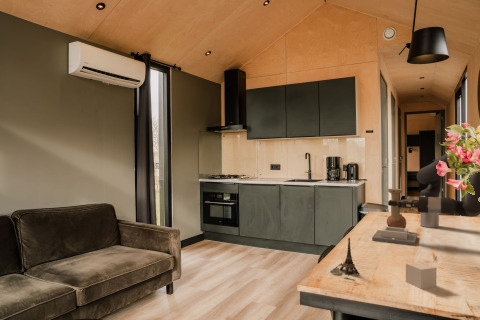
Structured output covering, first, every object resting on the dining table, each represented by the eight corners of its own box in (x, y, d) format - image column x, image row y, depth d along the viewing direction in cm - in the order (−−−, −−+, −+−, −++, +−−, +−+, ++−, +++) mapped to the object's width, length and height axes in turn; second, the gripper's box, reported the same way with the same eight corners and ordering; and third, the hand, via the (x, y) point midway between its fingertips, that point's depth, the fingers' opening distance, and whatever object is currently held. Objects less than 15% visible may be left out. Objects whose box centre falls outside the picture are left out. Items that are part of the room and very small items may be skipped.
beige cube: (405, 282, 107) (405, 263, 107) (420, 280, 109) (420, 261, 109) (420, 289, 101) (420, 269, 101) (436, 287, 103) (436, 267, 103)
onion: (402, 229, 183) (402, 211, 183) (409, 233, 173) (409, 214, 173) (384, 229, 184) (384, 211, 184) (390, 233, 174) (390, 214, 174)
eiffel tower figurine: (341, 264, 126) (341, 229, 126) (368, 270, 120) (369, 232, 120) (325, 276, 114) (325, 236, 114) (355, 282, 108) (355, 241, 108)
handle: (400, 221, 158) (400, 189, 158) (386, 220, 163) (386, 189, 163) (404, 220, 162) (403, 189, 162) (390, 218, 166) (389, 188, 166)
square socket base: (377, 233, 175) (377, 224, 175) (416, 237, 166) (416, 228, 166) (372, 240, 159) (372, 231, 159) (414, 245, 150) (414, 235, 150)
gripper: (429, 195, 161) (390, 193, 170) (429, 198, 149) (386, 196, 158) (429, 210, 161) (390, 208, 170) (429, 215, 149) (387, 212, 158)
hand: (388, 202), depth 164 cm, fingers closed on handle, 3 cm apart
